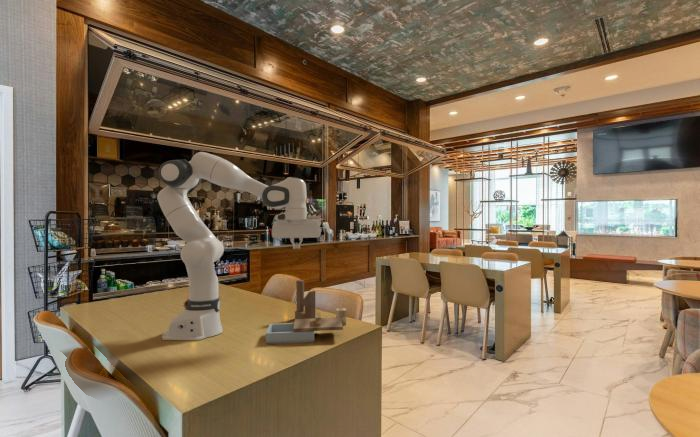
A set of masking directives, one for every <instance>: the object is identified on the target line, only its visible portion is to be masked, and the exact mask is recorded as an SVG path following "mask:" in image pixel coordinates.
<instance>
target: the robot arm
mask: <svg viewBox="0 0 700 437" xmlns="http://www.w3.org/2000/svg"><path fill="white" fill-rule="evenodd" d="M158 177H159V180H160V181H161V182H163V184H165V185H166V186H165V187H163V188H162V189H161V190H159V191H158V193H157V197H156V199H157V202H158V205H159V207H160V209H161V212H162V214H163V215H164V217H165V218H166V220H167V222H168V223H169V226H171V228H172V230H173V232H174V233H175V235H176V236H178V237H179V238H180V239H181V240H183V241H184V242H185V244H184V245H183V246H182V248H181V249H180V259H181V261H182V262H183V263H184V265H185V269H186V272H187V277H188V283H189V284H188V285H189V290H188V291H189V294H188V295H189V298H187V299H186V301H184V302H183V305H182V306H183V307H184V309H183V310H181V311H180V312H179V313H178V314H177V315H175V316H174V317H173V318H172V319H171V321H170V322H169V326H168V330H166V331H165V332H164V333H163V334H162V336H161V339H162V340H163V341H201V340H203V339H206V338H211V337H213V336H217V335H220V334H221V333H222V332H224V329H223V326H222V322H221V317H220V316H221V315H220V308H221V300H220V296H219V277H218V276H217V272H216V269H215V262H218V261H219V260H220V259H221V257H222V256H223V255H224V251H225V247H224V243H222V241H221V240H220V239H218V238H217V237H216V236H215V234H214V233H213V232H212V231H211V230H210V229H209V228H208V226H207V225H206V224H205V223H204V221H203V220H202V219H201V217H200V216H199V214H198V212H197V211H196V209H195V207H194V206H193V204H192V203H191V201H190V199H189V197H188V195H190V194H191V193H192V192H193V191H194V190H196V188H198V187H199V185H200V184H201V182H202V179H203V180H206V181H208V182H210V183H212V184H214V185H217V186H219V187H223V188H226V189H232V190H233V189H234V190H239V191H243V192H246V193H249V194H252V195H253V196H256V197H258V198H260V199H262V201H263V203H264V205H266V206H267V207H269V208H271V209H274V210H277V211H281V210H284V209H285V212H281V213H279V214H275V216H274V220H275V221H274V222H273V223H272V228H271V238H272V239H289V240H290V243H291V244H292V250H300V249H301V244H302V242H303V241H304V240H303V239H309V238H317V239H318V238H320V237H321V236H322V235H321V234H322V233H321V225H322V218H321V217H320V216H318V215H308V213H307V212H308V207H307V198H308V197H307V184H306V181H304V180H303V179H302V178H300V177H296V176H295V177H294V176H289V177H288V176H287V178H285V179H284V180H282V181H280V182H278V183H275V184H271V185H267V184H265V183H263V182H260V181H259V180H256V179H254V178H252V177H251V176H249V175H248V174H247V173H246V172H244V171H243V170H242V169H240V167H238V166H237V165H236V164H234V163H232V162H231V161H229V160H227V159H224V158H223V157H221V156H218V155H215V154H211V153H209V152H205V151H198V152H196V153H195V154H194V155H193V156H192V157H191V160H189V161H188V160H187V159H185V158H184V159H172V160H167V161H164V162H163V163H161V165H160V166H159V169H158ZM295 239H299V243H297V244H295V242H294V241H295Z"/></svg>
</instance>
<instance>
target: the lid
mask: <svg viewBox="0 0 700 437" xmlns="http://www.w3.org/2000/svg"><path fill="white" fill-rule="evenodd" d="M293 323H294V329H293V332H304V331H314V332H319V331H320V332H323V331H324V332H325V331H342V330H344V325H342V322H341V319H340V317H336V316H335V317H321V312H315V318H312V319H295V318H294V322H293Z"/></svg>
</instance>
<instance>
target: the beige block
mask: <svg viewBox="0 0 700 437" xmlns="http://www.w3.org/2000/svg"><path fill="white" fill-rule="evenodd" d="M335 311H336V312H335V313H336V316H335V318H336V317H340V319H341V322H342V325H343V326H347V309H346V308H345V307H337V308H336V310H335Z"/></svg>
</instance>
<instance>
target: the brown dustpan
mask: <svg viewBox="0 0 700 437" xmlns="http://www.w3.org/2000/svg"><path fill="white" fill-rule="evenodd" d="M295 286H296V287H295V288H296V290H295V291H296V298H295V299H296V302H295V303H296V304H295V305H296V311H294V320H295V319H312V318H315V313H316V290H312V291H309V292H308V293H307V294H306V296H305V280H303V279H298V280H296V284H295Z"/></svg>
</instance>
